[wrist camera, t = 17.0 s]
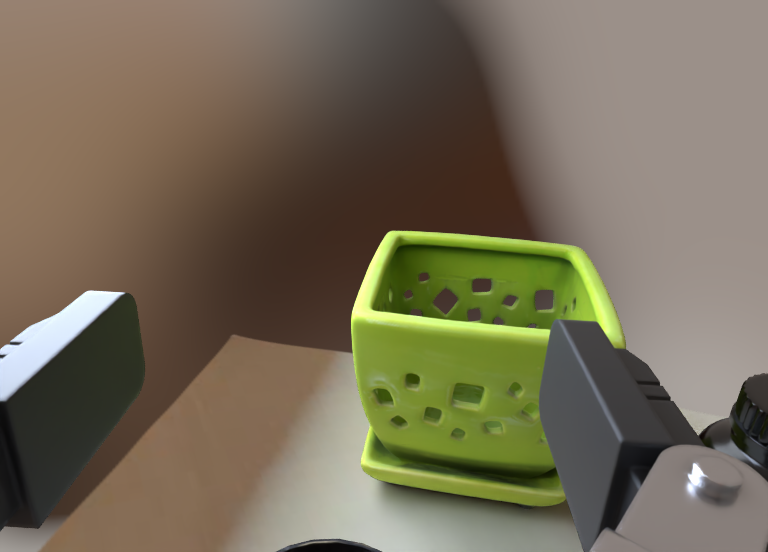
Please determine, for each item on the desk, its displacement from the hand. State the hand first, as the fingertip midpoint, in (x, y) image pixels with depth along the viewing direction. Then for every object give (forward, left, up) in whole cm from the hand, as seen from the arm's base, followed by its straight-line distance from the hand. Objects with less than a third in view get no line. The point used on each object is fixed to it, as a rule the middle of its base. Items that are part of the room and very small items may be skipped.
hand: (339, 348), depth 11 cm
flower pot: (-13, -18, -20) cm, 30 cm away
